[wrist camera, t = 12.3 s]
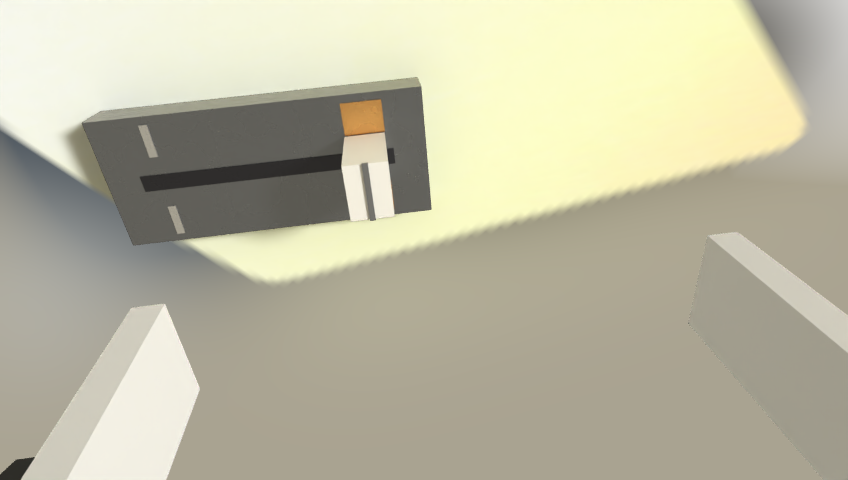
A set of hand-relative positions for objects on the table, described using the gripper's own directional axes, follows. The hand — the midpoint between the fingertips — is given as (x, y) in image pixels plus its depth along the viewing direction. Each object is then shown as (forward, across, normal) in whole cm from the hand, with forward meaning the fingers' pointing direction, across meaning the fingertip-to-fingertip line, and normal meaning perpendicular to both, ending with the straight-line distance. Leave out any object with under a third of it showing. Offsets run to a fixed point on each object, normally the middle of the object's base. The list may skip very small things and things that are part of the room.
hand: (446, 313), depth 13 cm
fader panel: (+31, -10, -6) cm, 33 cm away
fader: (+27, -2, -6) cm, 28 cm away
